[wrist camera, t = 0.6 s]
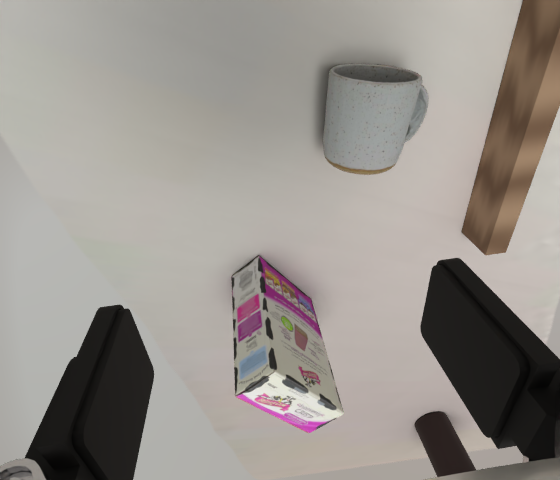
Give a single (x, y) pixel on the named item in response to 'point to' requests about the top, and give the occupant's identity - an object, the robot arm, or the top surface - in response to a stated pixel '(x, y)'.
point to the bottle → (443, 445)
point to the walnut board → (517, 127)
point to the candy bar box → (280, 350)
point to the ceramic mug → (371, 116)
